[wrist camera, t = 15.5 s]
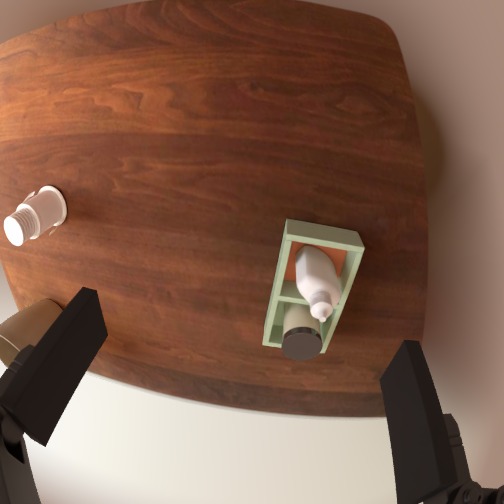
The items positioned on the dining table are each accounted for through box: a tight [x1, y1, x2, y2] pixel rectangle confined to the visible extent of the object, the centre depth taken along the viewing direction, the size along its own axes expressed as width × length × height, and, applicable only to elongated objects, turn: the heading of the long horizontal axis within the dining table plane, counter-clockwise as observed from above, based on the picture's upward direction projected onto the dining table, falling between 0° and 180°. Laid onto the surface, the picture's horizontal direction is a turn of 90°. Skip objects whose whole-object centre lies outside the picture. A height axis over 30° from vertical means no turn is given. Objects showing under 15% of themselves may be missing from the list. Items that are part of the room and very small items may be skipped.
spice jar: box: [281, 302, 323, 361], centre depth 41 cm, size 5×5×8 cm
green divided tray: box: [263, 219, 365, 353], centre depth 41 cm, size 18×10×5 cm, turn 172°
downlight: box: [4, 186, 67, 246], centre depth 37 cm, size 8×7×10 cm
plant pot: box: [0, 299, 63, 368], centre depth 47 cm, size 15×15×16 cm
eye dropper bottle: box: [295, 245, 341, 322], centre depth 35 cm, size 4×6×12 cm
